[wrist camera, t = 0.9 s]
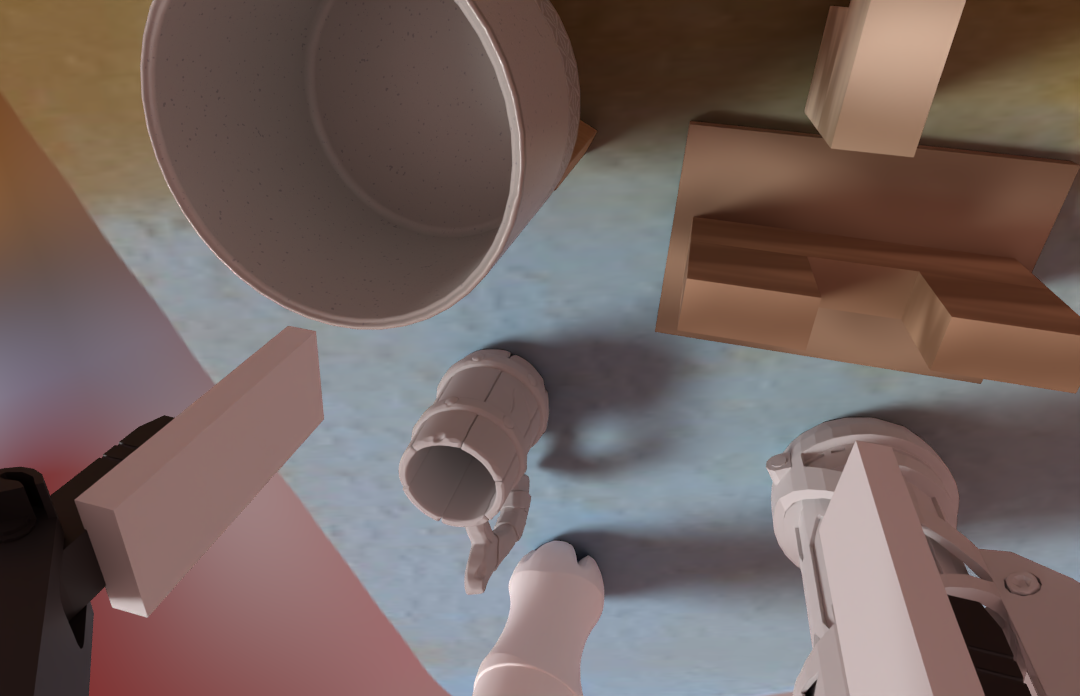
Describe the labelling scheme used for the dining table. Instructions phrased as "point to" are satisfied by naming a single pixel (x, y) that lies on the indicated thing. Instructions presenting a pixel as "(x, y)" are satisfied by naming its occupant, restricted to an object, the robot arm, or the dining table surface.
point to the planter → (361, 142)
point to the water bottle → (544, 625)
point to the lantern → (1006, 578)
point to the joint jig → (870, 256)
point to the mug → (478, 454)
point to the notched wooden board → (880, 72)
